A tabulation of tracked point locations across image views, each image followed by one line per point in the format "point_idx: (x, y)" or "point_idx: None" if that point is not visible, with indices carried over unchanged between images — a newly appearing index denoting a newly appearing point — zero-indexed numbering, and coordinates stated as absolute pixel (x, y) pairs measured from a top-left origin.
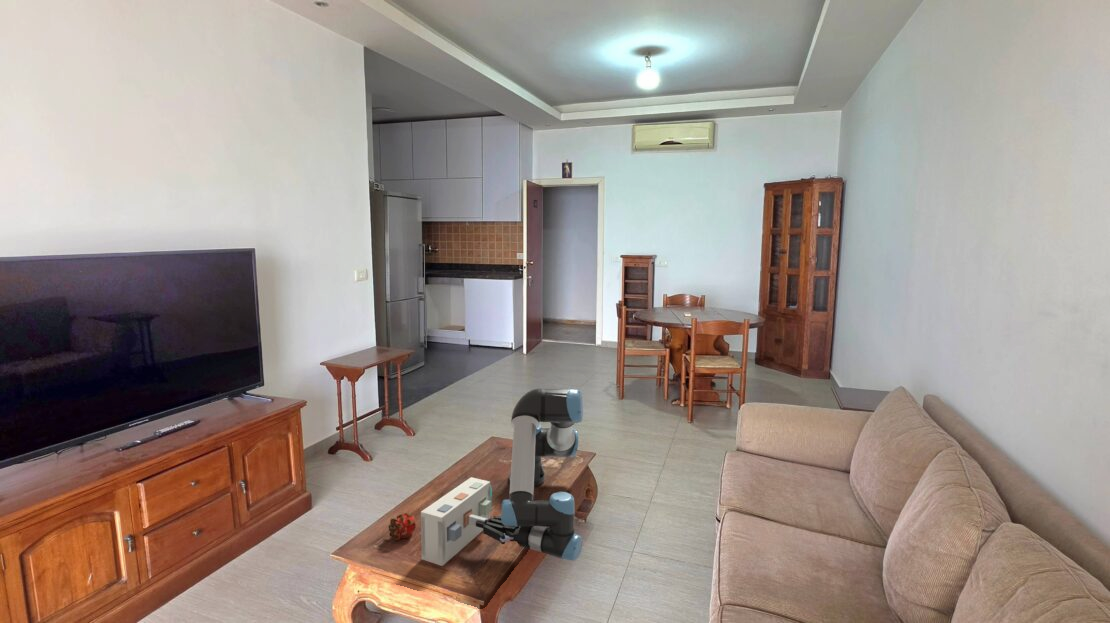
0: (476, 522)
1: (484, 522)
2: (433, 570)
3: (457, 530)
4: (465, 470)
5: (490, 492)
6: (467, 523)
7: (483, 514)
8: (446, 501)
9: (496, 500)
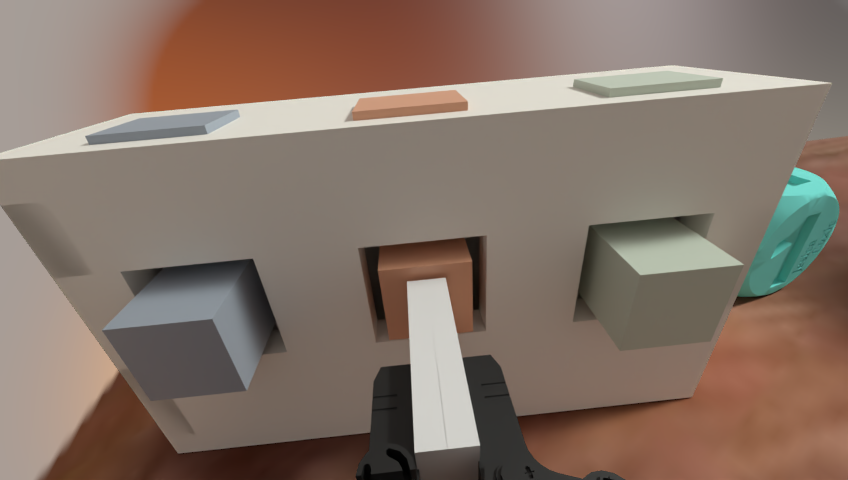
0: (375, 379)
1: (416, 453)
2: (133, 441)
3: (156, 341)
4: None
5: (815, 232)
6: (404, 326)
7: (607, 331)
8: (296, 108)
9: (840, 288)
